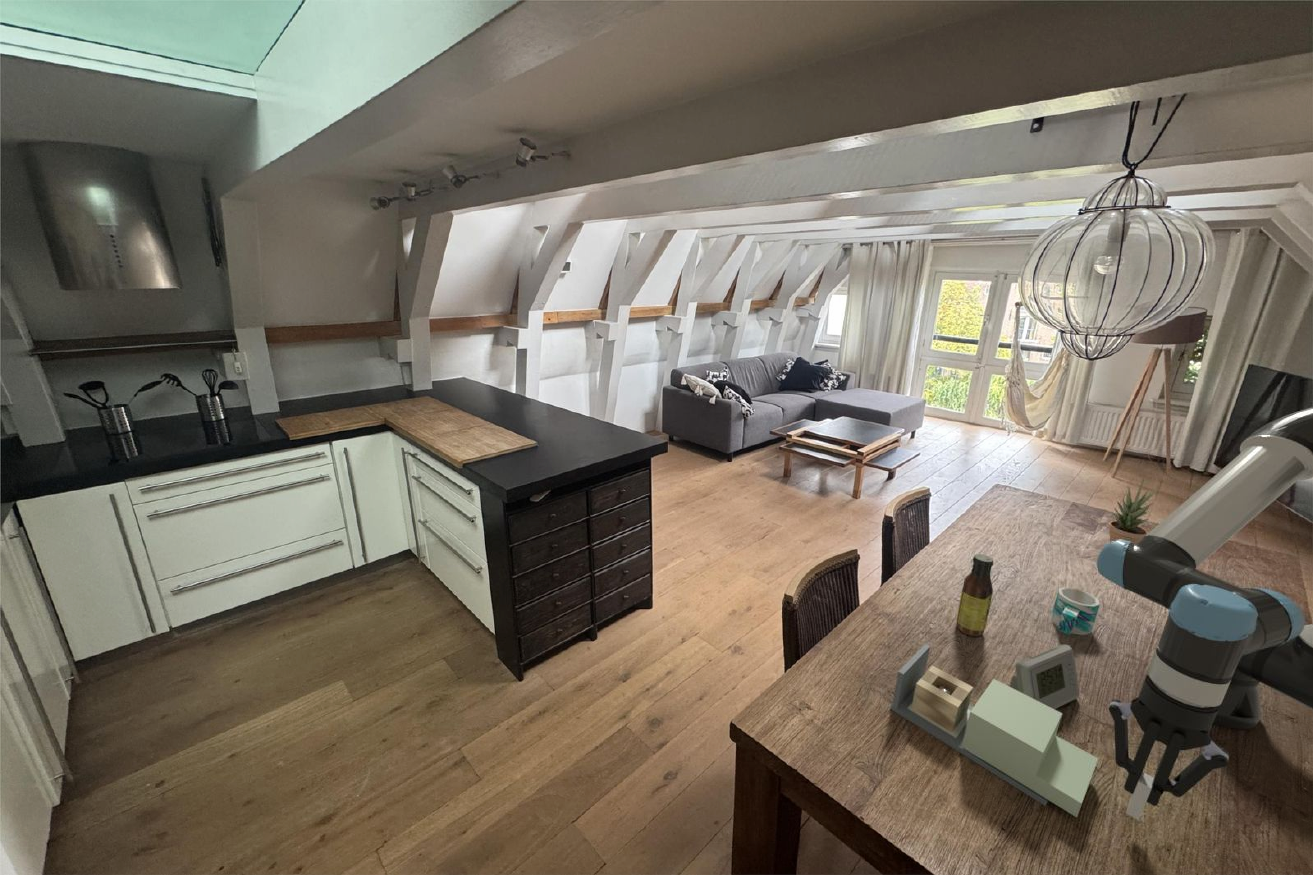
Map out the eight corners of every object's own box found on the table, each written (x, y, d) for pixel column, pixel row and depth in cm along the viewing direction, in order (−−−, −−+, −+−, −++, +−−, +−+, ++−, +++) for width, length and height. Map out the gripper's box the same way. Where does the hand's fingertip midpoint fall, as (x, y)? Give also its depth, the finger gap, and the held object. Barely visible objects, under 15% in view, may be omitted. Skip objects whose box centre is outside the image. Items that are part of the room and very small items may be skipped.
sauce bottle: (988, 639, 123) (1005, 567, 117) (960, 635, 124) (975, 564, 118) (977, 622, 129) (993, 553, 123) (950, 619, 130) (965, 550, 124)
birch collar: (967, 711, 100) (973, 687, 99) (952, 732, 96) (958, 707, 94) (927, 689, 106) (932, 665, 104) (911, 707, 101) (916, 683, 99)
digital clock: (1026, 723, 99) (1038, 679, 96) (989, 688, 108) (999, 647, 105) (1093, 711, 102) (1108, 668, 99) (1052, 678, 111) (1064, 637, 108)
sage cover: (1093, 771, 88) (1106, 735, 86) (1076, 817, 80) (1090, 779, 78) (985, 711, 100) (993, 678, 98) (961, 746, 93) (970, 711, 90)
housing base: (1064, 762, 91) (1078, 721, 88) (1045, 806, 83) (1059, 762, 81) (917, 679, 110) (924, 643, 107) (890, 709, 102) (897, 670, 100)
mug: (1094, 626, 128) (1103, 597, 126) (1083, 647, 121) (1092, 617, 118) (1055, 610, 134) (1062, 583, 132) (1041, 629, 127) (1049, 600, 124)
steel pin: (946, 715, 101) (952, 690, 99) (942, 720, 100) (948, 695, 98) (936, 708, 102) (941, 684, 101) (932, 714, 101) (937, 689, 99)
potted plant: (1149, 555, 162) (1173, 483, 155) (1119, 554, 162) (1142, 483, 155) (1122, 539, 172) (1144, 471, 165) (1094, 539, 172) (1114, 471, 165)
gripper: (1250, 703, 70) (1194, 828, 77) (1126, 653, 80) (1086, 768, 86) (1249, 733, 65) (1190, 863, 72) (1117, 675, 75) (1076, 795, 82)
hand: (1133, 811), depth 79 cm, fingers closed
